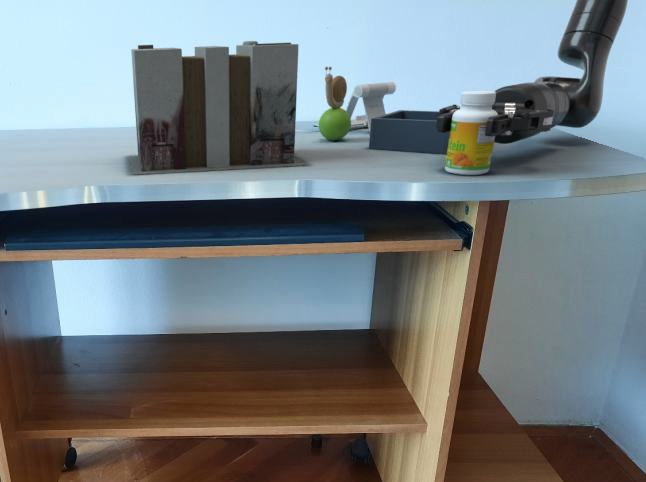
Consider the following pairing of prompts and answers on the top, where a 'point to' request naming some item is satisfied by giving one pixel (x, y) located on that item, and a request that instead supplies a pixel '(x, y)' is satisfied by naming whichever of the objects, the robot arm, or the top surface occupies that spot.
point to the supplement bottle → (471, 134)
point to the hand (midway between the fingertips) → (464, 125)
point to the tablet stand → (369, 102)
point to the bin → (408, 132)
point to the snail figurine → (335, 109)
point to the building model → (215, 108)
